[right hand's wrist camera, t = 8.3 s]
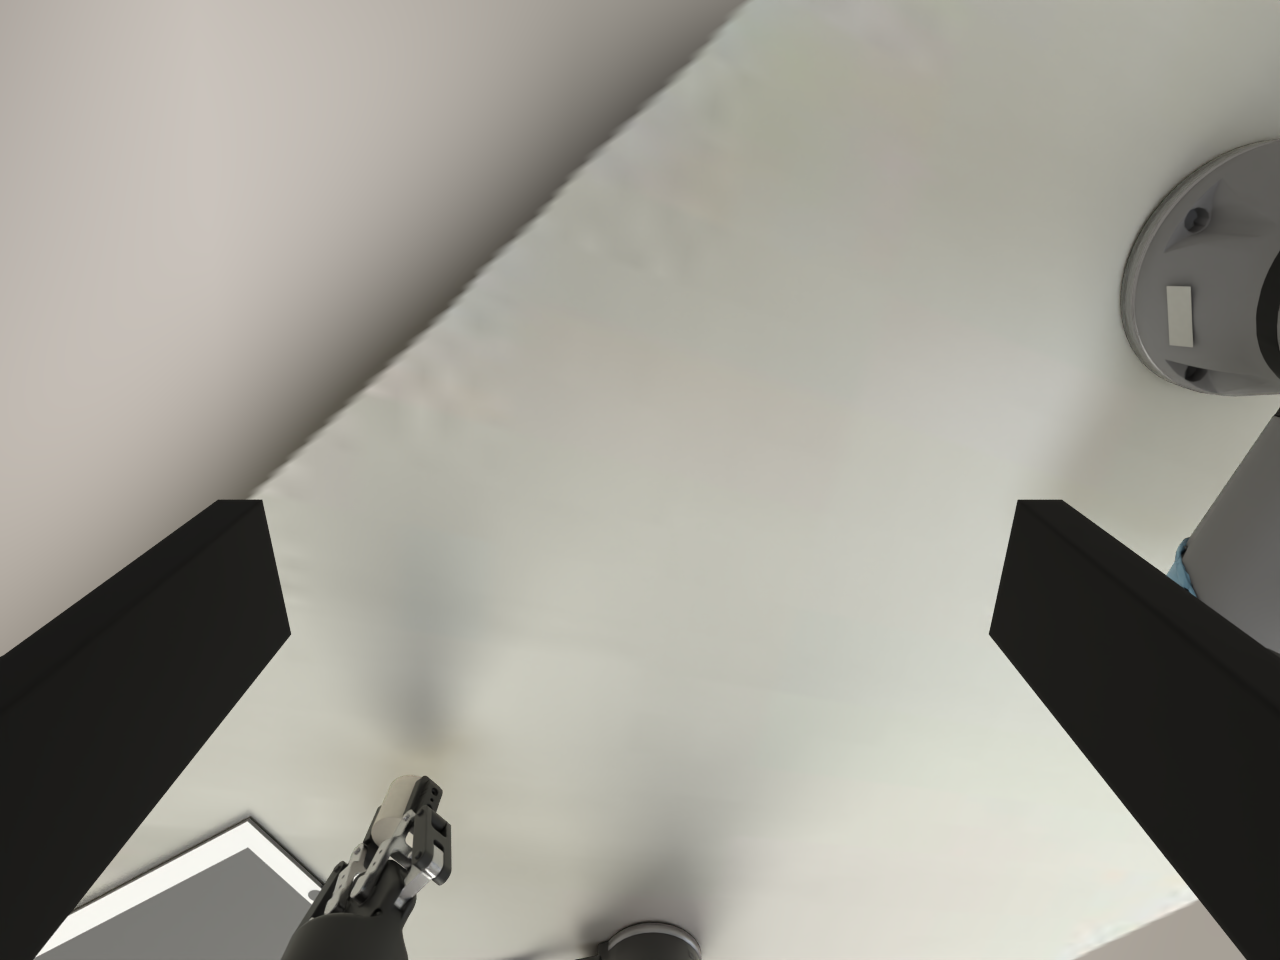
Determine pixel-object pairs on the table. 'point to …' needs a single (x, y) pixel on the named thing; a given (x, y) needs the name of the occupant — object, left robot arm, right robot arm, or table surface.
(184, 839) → the table surface
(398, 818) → the can
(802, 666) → the table surface
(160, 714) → the right robot arm
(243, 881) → the tablet
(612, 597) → the table surface
